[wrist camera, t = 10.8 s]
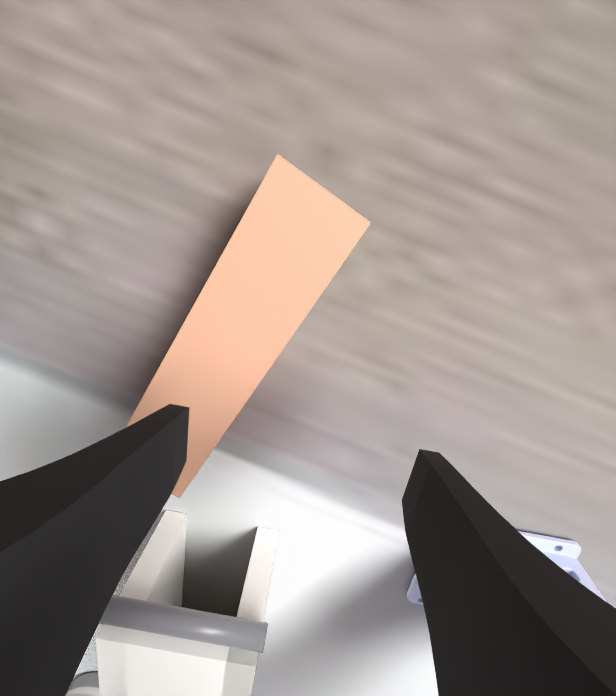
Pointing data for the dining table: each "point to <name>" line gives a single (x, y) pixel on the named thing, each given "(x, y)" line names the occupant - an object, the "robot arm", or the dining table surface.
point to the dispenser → (182, 625)
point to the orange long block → (251, 305)
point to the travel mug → (85, 685)
